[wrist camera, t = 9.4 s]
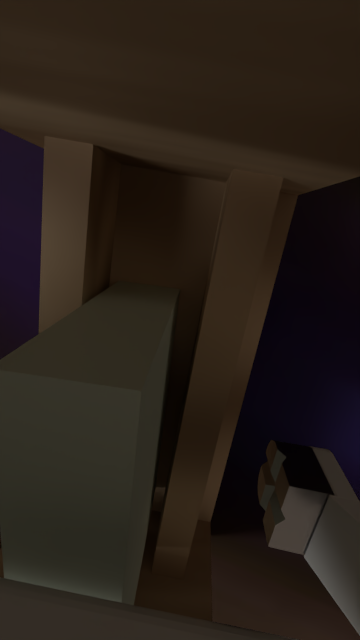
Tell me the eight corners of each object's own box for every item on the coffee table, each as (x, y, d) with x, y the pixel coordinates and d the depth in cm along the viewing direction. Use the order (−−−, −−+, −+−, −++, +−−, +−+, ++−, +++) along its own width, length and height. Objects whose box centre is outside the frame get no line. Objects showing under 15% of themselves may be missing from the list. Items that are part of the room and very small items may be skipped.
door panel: (119, 280, 11) (-12, 368, 4) (180, 288, 11) (140, 390, 4) (107, 479, 14) (15, 719, 7) (155, 487, 14) (108, 736, 7)
